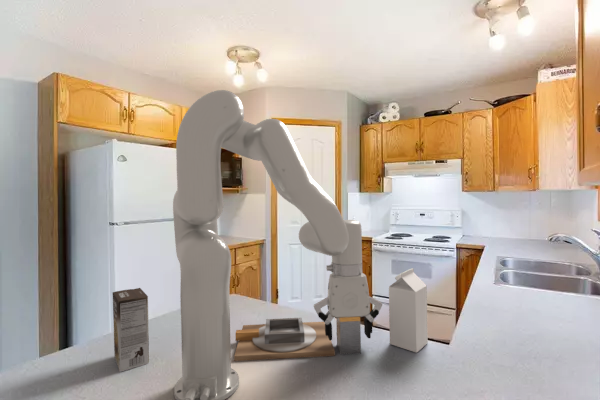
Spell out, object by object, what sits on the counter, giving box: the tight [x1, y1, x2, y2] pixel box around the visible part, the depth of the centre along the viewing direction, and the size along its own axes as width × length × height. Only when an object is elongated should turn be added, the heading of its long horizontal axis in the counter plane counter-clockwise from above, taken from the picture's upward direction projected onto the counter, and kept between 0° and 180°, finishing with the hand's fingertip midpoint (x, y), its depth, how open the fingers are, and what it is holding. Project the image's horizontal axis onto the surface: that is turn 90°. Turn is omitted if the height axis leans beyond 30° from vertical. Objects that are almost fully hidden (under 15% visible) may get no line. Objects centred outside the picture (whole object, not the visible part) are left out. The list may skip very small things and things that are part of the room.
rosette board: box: [233, 317, 336, 362], centre depth 84 cm, size 18×25×4 cm
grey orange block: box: [335, 317, 362, 356], centre depth 79 cm, size 5×5×9 cm
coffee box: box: [112, 287, 150, 373], centre depth 75 cm, size 9×6×16 cm
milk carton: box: [388, 267, 429, 353], centre depth 81 cm, size 7×7×19 cm
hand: (348, 336), depth 79 cm, fingers open, 9 cm apart
